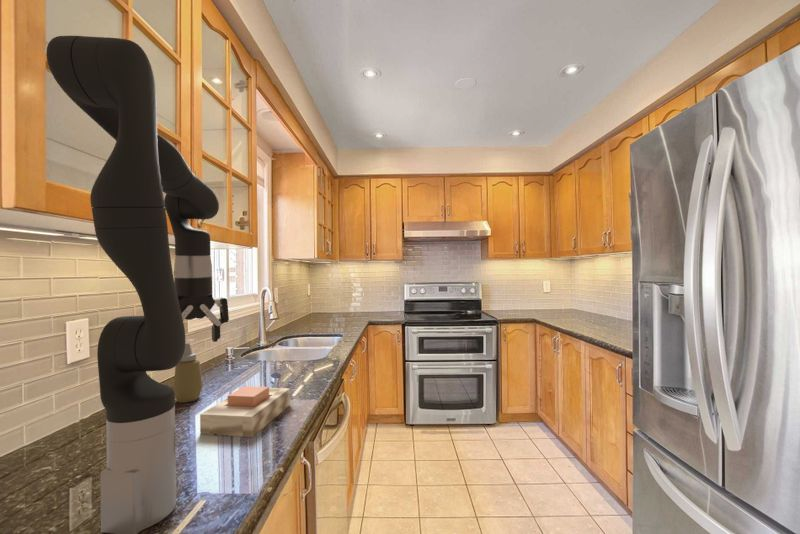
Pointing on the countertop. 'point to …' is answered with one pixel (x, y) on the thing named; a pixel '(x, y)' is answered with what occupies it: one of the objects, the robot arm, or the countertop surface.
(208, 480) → the countertop surface
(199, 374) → the squeeze bottle
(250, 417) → the button housing
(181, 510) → the countertop surface
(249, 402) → the button
